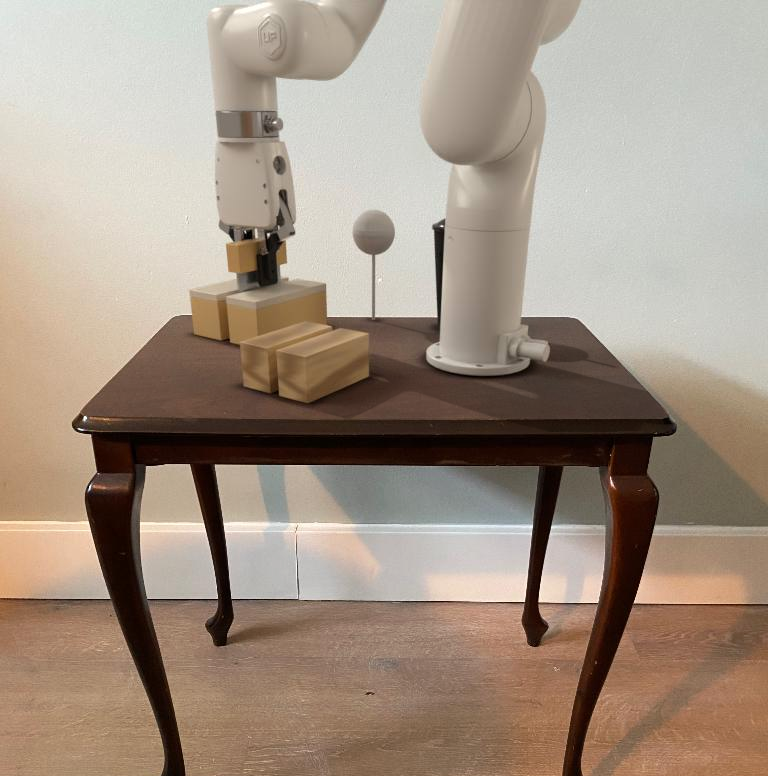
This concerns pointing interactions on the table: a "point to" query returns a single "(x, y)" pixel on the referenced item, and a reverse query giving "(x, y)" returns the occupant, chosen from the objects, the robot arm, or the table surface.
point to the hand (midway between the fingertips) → (260, 282)
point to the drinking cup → (439, 262)
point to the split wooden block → (305, 360)
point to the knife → (249, 262)
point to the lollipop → (373, 238)
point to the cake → (256, 308)
